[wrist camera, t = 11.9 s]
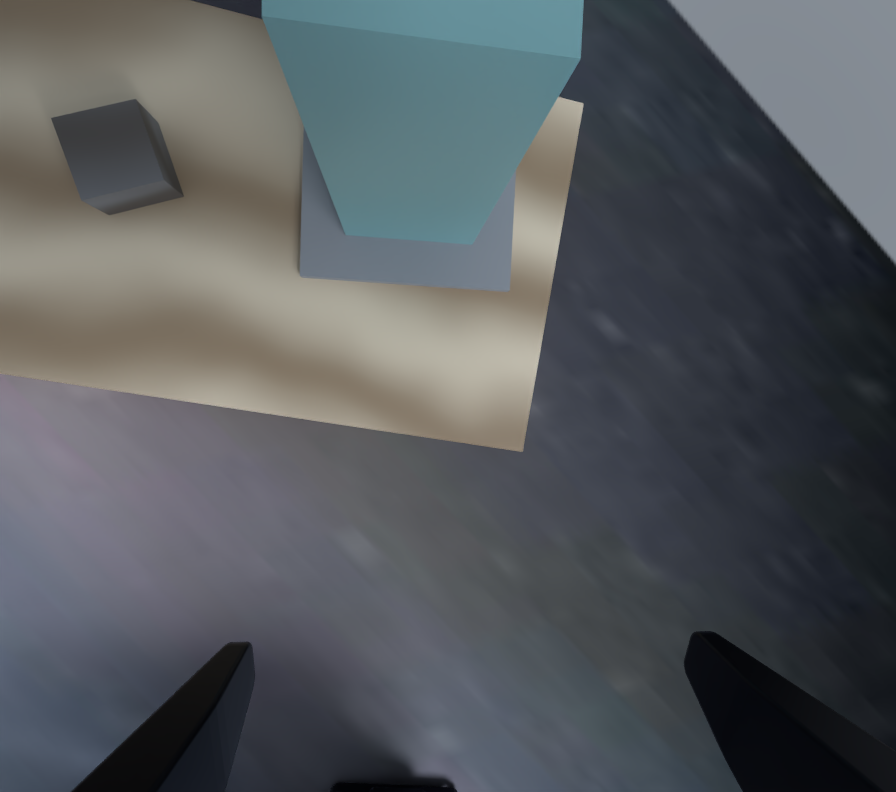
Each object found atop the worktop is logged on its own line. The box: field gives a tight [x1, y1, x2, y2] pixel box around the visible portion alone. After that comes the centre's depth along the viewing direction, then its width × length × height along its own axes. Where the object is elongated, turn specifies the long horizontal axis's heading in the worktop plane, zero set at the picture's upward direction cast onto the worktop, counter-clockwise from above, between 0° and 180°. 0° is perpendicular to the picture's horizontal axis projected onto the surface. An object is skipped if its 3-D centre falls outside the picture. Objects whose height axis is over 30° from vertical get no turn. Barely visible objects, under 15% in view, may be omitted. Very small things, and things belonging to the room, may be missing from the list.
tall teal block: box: [262, 0, 584, 245], centre depth 12 cm, size 5×5×11 cm
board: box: [0, 0, 583, 452], centre depth 18 cm, size 16×24×3 cm, turn 80°
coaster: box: [300, 128, 516, 292], centre depth 18 cm, size 9×9×1 cm
